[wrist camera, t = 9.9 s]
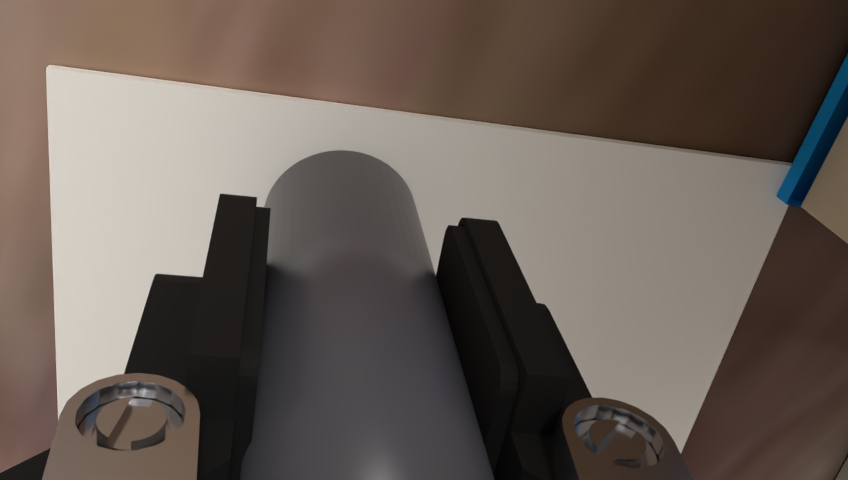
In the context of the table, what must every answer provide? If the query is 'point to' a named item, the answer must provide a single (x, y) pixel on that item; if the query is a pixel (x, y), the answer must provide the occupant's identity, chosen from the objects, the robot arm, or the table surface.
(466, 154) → the paper
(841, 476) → the pen holder
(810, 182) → the book
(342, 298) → the marker
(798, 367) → the table surface
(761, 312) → the table surface
